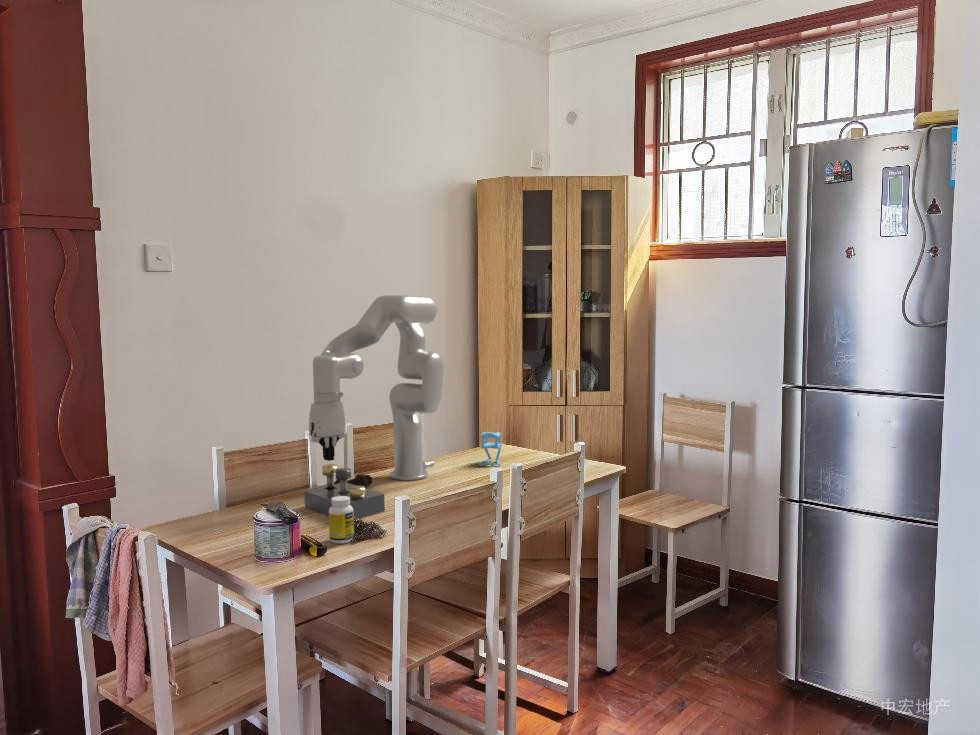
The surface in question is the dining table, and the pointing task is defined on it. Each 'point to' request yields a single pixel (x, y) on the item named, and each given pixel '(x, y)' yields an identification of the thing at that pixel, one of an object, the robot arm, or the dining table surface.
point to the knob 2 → (357, 492)
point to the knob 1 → (329, 474)
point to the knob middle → (343, 478)
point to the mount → (361, 507)
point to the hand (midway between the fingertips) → (328, 459)
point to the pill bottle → (341, 520)
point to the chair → (491, 446)
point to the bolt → (359, 480)
